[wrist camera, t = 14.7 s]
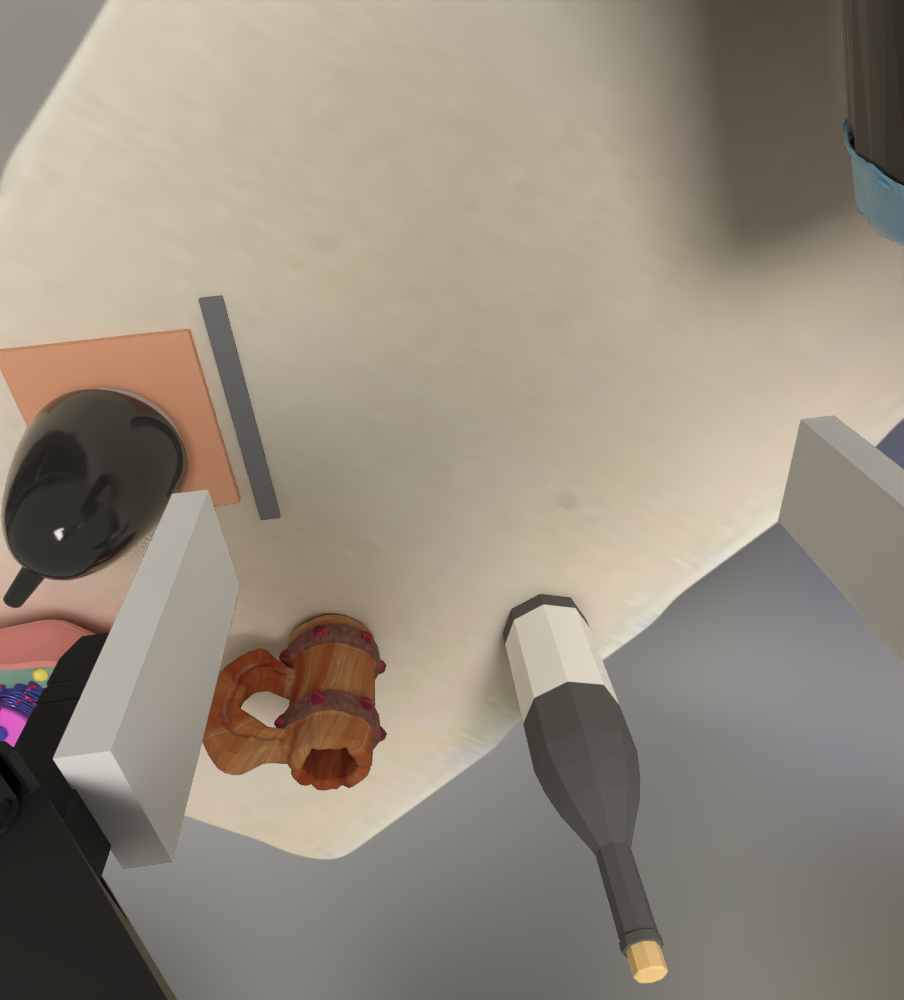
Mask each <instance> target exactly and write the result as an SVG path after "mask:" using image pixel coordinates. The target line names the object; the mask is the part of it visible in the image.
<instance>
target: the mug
mask: <svg viewBox="0 0 904 1000" xmlns="http://www.w3.org/2000/svg"><path fill="white" fill-rule="evenodd" d="M279 658H280V661H281V662H282V663H283V664H285V665H283V664H282V663H281V662H279V661H278V660H277V659H275V658H274V657H273V656H272V655H271V654H270V653H269V652H268V651H266V650H264V649H262V648H259V649H256V650H253V651H251V652H248V653H246V654H244V655H242V656H241V657H239V658H237V659H236V660H234V661H233V662H232V663H230V664H229V665H227V666H226V667H225V668H224V669H223V670H222V671H221V673H220V674H219V676H218V679H217V683H216V687H215V691H214V695H213V699H212V703H211V707H210V711H209V715H208V720H207V724H206V728H205V732H204V736H203V740H202V741H203V744H204V746H205V749H206V751H207V753H208V755H209V757H210V758H211V760H212V761H213V763H214V764H215V765H216V767H217V768H218V769H220V770H221V771H223V772H224V773H228V774H231V775H241V774H244V773H246V772H248V771H250V770H252V769H254V768H256V767H258V766H260V765H262V764H265V763H280V764H288V765H289V768H291V775H292V776H293V778H294V779H295V780H296V781H297V782H298V783H299V784H300V785H305V786H307V785H310V784H312V785H313V786H314V787H315V788H316V789H317V790H329V789H338V788H339V787H340V786H342V785H343V786H346V787H348V788H350V787H353V786H354V785H356V784H357V783H359V782H360V781H362V780H363V779H364V778H365V777H366V776H367V775H368V773H369V771H370V766H372V755H373V749H374V748H375V747H376V745H377V744H378V743H379V742H380V741H382V740H384V739H385V737H386V735H387V734H386V732H385V730H384V729H383V728H382V727H381V726H380V720H379V714H378V712H377V710H376V709H375V679H376V678H377V676H378V674H381V673H383V672H384V671H385V668H386V664H385V663H384V661H382V660H380V657H379V651H378V646H377V644H376V643H375V641H374V639H373V636H372V634H371V633H370V631H369V630H368V629H367V628H366V627H365V626H364V625H363V624H362V623H360V622H358V621H356V620H354V619H351V618H349V617H346V616H343V615H323V616H320V617H317V618H314V619H312V620H310V621H309V622H306V623H304V624H302V625H301V626H299V627H298V628H296V629H295V630H294V632H293V633H292V635H291V638H290V642H289V646H288V648H287V649H286V650H283V651H282V653H281V654H280V657H279ZM263 691H269V692H271V693H274V694H276V695H279V696H281V697H284V698H286V699H289V700H290V703H289V707H288V709H287V710H286V711H285V713H284V714H282V715H280V716H279V717H278V718H277V719H276V720H275V723H274V724H275V726H276V728H272V727H267V726H266V725H264V724H263V723H262V722H260V721H259V720H257V719H256V718H254V717H253V716H251V715H250V714H248V713H247V712H245V711H243V710H242V709H241V706H242V704H243V702H244V701H245V700H247V699H248V698H249V697H250V696H251V695H252V694H254V693H256V692H263Z"/></svg>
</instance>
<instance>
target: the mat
mask: <svg viewBox="0 0 904 1000" xmlns="http://www.w3.org/2000/svg"><path fill="white" fill-rule="evenodd" d="M0 369H1V371H2V374H3V376H4V378H5V380H6V382H7V384H8V386H9V388H10V391H11V393H12V395H13V397H14V399H15V401H16V403H17V405H18V408H19V410H20V412H21V414H22V416H23V418H24V420H25V422H26V425H27V427H28V426H29V424H30V423H31V421H32V420H33V418H34V417H35V416H36V415H37V414H38V412H39V411H40V410H41V409H42V408H43V407H44V406H45V405H47V404H48V403H49V402H50V401H52V400H54V399H55V398H57V397H59V396H61V395H64V394H66V393H69V392H73V391H78V390H85V389H94V388H114V389H121V390H125V391H129V392H132V393H135V394H138V395H140V396H142V397H144V398H146V399H148V400H150V401H151V402H153V403H154V404H156V405H157V406H158V407H159V408H161V409H162V410H163V411H164V412H165V413H166V414H167V415H168V416H169V418H170V419H171V420H172V421H173V423H174V424H175V426H176V428H177V429H178V431H179V433H180V436H181V438H182V441H183V444H184V446H185V449H186V452H187V456H188V464H189V470H188V477H187V481H186V484H185V487H184V489H183V492H192V491H200V490H208V491H209V494H210V497H211V500H212V503H213V506H217V505H225V504H234V503H239V502H240V496H239V492H238V489H237V486H236V482H235V479H234V476H233V472H232V469H231V466H230V462H229V459H228V455H227V452H226V449H225V445H224V442H223V439H222V435H221V432H220V429H219V425H218V422H217V419H216V415H215V412H214V408H213V405H212V402H211V398H210V395H209V392H208V388H207V385H206V382H205V378H204V375H203V371H202V368H201V365H200V361H199V358H198V355H197V351H196V348H195V345H194V341H193V338H192V334H191V331H190V329H185V330H175V331H166V332H157V333H148V334H139V335H130V336H120V337H111V338H102V339H93V340H84V341H74V342H65V343H56V344H47V345H38V346H29V347H19V348H10V349H1V350H0ZM183 492H182V493H183Z"/></svg>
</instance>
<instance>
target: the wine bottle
mask: <svg viewBox="0 0 904 1000" xmlns="http://www.w3.org/2000/svg"><path fill="white" fill-rule="evenodd" d="M504 641H505V645H506V650H507V654H508V659H509V663H510V667H511V672H512V676H513V680H514V685H515V689H516V694H517V698H518V702H519V707H520V711H521V715H522V720H523V724H524V728H525V733H526V737H527V742H528V746H529V750H530V755H531V759H532V763H533V768H534V772H535V774H536V776H537V778H538V780H539V782H540V784H541V785H542V788H543V790H544V791H545V794H546V795H547V797H548V798H549V800H550V801H551V803H552V804H553V806H554V807H555V808H556V810H557V811H558V813H559V814H560V816H561V817H562V818H563V819H564V820H565V822H566V823H567V824H568V825H569V826H570V827H571V828H572V829H573V830H574V831H575V832H576V833H577V835H578V836H579V837H580V838H581V839H582V840H583V841H584V842H585V843H586V845H588V847H589V848H590V849H591V850H592V852H593V853H594V854H595V855H596V858H597V862H598V865H599V869H600V872H601V876H602V879H603V883H604V887H605V890H606V894H607V897H608V901H609V904H610V908H611V912H612V915H613V919H614V922H615V926H616V929H617V933H618V936H619V940H620V942H619V945H620V949H621V952H622V954H623V955H625V956H626V957H627V958H628V961H629V965H630V968H631V972H632V975H633V978H634V979H636V980H637V981H638V982H640V983H652V982H655V981H657V980H660V979H662V978H663V977H664V976H665V974H666V973H667V972H668V970H667V967H666V964H665V960H664V958H663V954H662V951H661V948H662V947H663V946H664V944H663V941H662V937H661V935H660V934H659V933H658V930H657V927H656V924H655V921H654V918H653V915H652V912H651V909H650V906H649V902H648V899H647V896H646V893H645V891H644V887H643V884H642V881H641V878H640V875H639V872H638V869H637V866H636V863H635V860H634V857H633V854H632V851H631V844H632V838H633V832H634V827H635V821H636V816H637V811H638V806H639V798H640V772H639V763H638V755H637V750H636V747H635V745H634V742H633V740H632V737H631V734H630V732H629V729H628V727H627V724H626V721H625V719H624V716H623V714H622V711H621V708H620V706H619V703H618V700H617V698H616V695H615V693H614V690H613V687H612V685H611V682H610V680H609V677H608V674H607V672H606V669H605V666H604V664H603V661H602V659H601V656H600V653H599V651H598V648H597V646H596V643H595V640H594V638H593V635H592V632H591V630H590V627H589V625H588V623H587V621H586V619H585V617H584V616H583V614H582V613H581V612H580V610H579V609H578V608H577V606H576V605H575V603H574V602H573V601H572V599H571V598H569V597H560V596H551V595H543V594H540V595H538V596H536V597H534V598H532V599H530V600H528V601H526V602H524V603H523V604H521V605H519V606H517V607H515V608H513V609H512V611H511V614H510V617H509V619H508V622H507V625H506V628H505V630H504Z"/></svg>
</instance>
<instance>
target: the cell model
mask: <svg viewBox="0 0 904 1000" xmlns="http://www.w3.org/2000/svg"><path fill="white" fill-rule="evenodd" d="M87 635H95V633H93V632H91V631H89V630H86V629H84V628H82V627H79V626H77V625H75V624H72V623H70V622H68V621H65V620H58V619H53V620H40V621H35V622H30V623H25V624H20V625H16V626H11V627H6V628H2V629H0V741H6V742H7V743H9V744H10V745H11V746H12V747H14V745H15V744H16V742H17V740H18V738H19V736H20V734H21V732H22V730H23V728H24V726H25V724H26V722H27V720H28V718H29V716H30V714H31V713H32V711H33V709H34V708H36V707H37V701H38V699H39V697H40V695H41V693H42V691H43V689H44V688H47V681H48V680H49V678H50V676H51V674H52V672H53V670H54V668H55V666H56V664H57V662H58V660H59V658H60V657H61V656H62V655H63V654H64V653H65V652H66V651H67V650H68V649H69V648H70V647H71V646H72V645H73V644H74V643H75V642H76V641H77V640H78V639H79V638H80V637H81V636H87Z"/></svg>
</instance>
